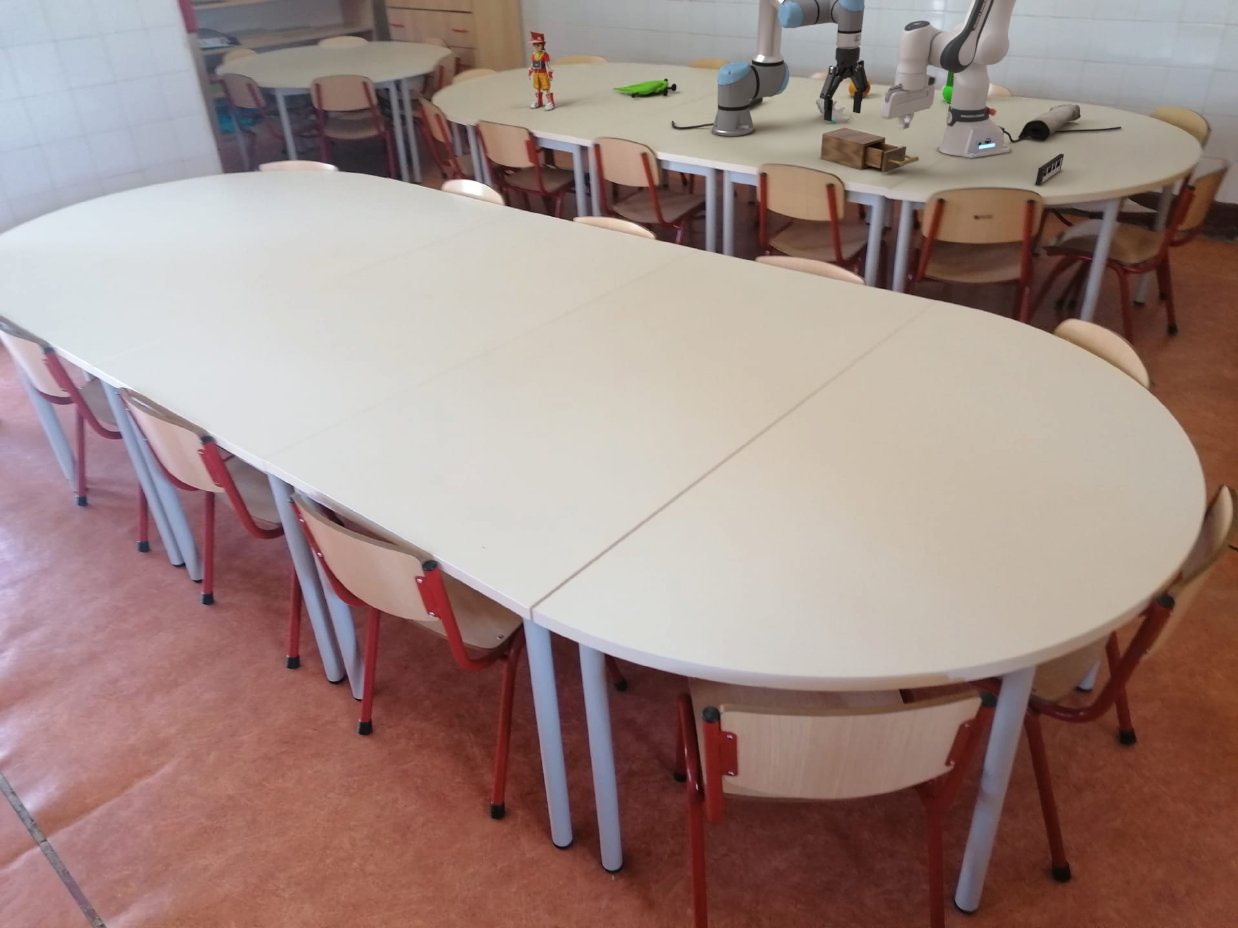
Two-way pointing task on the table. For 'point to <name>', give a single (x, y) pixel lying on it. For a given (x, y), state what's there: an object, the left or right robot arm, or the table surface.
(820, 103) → the anatomical model
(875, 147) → the drawer
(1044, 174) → the midi keyboard
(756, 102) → the disk drive
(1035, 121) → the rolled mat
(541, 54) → the toy
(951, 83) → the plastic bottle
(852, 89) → the fruit
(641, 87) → the toy
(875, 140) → the wooden box
